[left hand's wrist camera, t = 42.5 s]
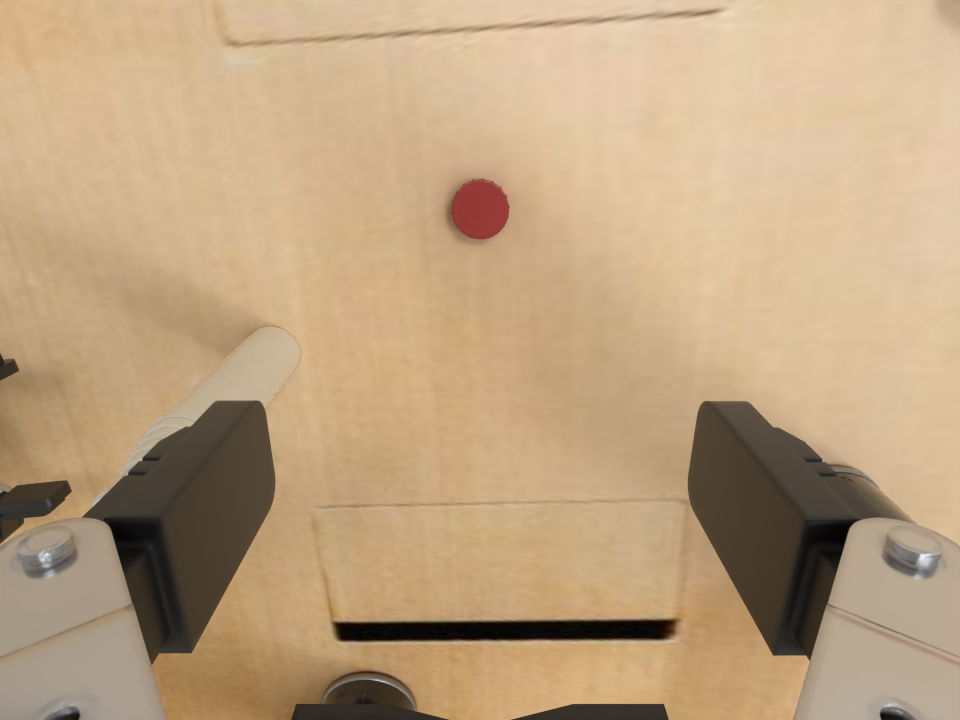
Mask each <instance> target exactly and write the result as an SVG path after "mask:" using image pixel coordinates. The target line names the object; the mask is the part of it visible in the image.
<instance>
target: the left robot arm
mask: <svg viewBox="0 0 960 720" xmlns="http://www.w3.org/2000/svg"><path fill="white" fill-rule="evenodd" d="M274 492H275V472H274V465H273V459H272V452H271V445H270V438H269V431H268V425H267V418H266V412H265V409H264V406H263V404H262V403H261V402H260V401H258V400H217V401H215V402H214V403H213V404H212V405H211V406H210V407H209V408H208V409H207V410H206V411H205V412H204V413H203V414H202V415H201V416H200V417H199V418H198V419H197V420H196V421H195V422H194V424H193V425H192V426H191V427H184V428H182V429H180V430H178V431H177V432H175V433H173V434H171V435H169V436H167V437H166V438H164V439H162V440H160V441H159V442H158V443H157V444H156V445H155V446H154V447H153V448H152V449H151V450H150V451H149V452H148V453H147V454H146V455H145V456H144V457H143V458H142V461H139V462H138V463H137V464H135V465H134V466H133V467H132V468H131V469H130V470H129V471H128V476H123V477H122V478H121V479H120V480H119V481H118V482H117V483H116V484H115V485H114V486H113V487H112V488H111V489H110V490H109V491H108V492H107V493H106V494H105V495H104V496H103V497H102V498H101V499H100V500H99V501H98V502H97V503H96V504H95V505H94V506H93V507H92V508H91V509H90V510H89V511H88V512H87V513H86V514H85V515H84V516H83V517H82V518H71V519H64V520H59V521H54V522H51V523H47V524H44V525H41V526H38V527H35V528H32V529H30V530H28V531H25V532H23V533H21V534H19V535H17V536H15V537H13V538H12V539H10V540H9V541H7V542H5V543H4V544H2V545H1V546H0V720H167V718H166V714H165V711H164V707H163V704H162V701H161V697H160V694H159V690H158V687H157V684H156V680H155V677H154V673H153V670H152V666H151V665H152V664H153V662H154V660H155V659H156V657H157V655H158V654H159V653H192V651H193V649H194V648H195V646H196V644H197V642H198V640H199V638H200V637H201V635H202V633H203V631H204V629H205V627H206V626H207V624H208V622H209V620H210V618H211V616H212V615H213V613H214V611H215V609H216V607H217V605H218V604H219V602H220V600H221V598H222V596H223V594H224V593H225V591H226V589H227V587H228V585H229V583H230V582H231V580H232V578H233V576H234V574H235V572H236V571H237V569H238V567H239V565H240V563H241V561H242V560H243V558H244V556H245V554H246V552H247V550H248V549H249V547H250V545H251V543H252V541H253V539H254V538H255V536H256V534H257V532H258V530H259V528H260V527H261V525H262V523H263V521H264V519H265V517H266V516H267V514H268V512H269V510H270V508H271V505H272V502H273V498H274ZM688 492H689V498H690V503H691V506H692V509H693V511H694V513H695V515H696V516H697V518H698V520H699V522H700V524H701V525H702V527H703V529H704V531H705V533H706V534H707V536H708V538H709V540H710V542H711V544H712V545H713V547H714V549H715V551H716V553H717V554H718V556H719V558H720V560H721V562H722V563H723V565H724V567H725V569H726V571H727V572H728V574H729V576H730V578H731V580H732V582H733V583H734V585H735V587H736V589H737V591H738V592H739V594H740V596H741V598H742V600H743V601H744V603H745V605H746V607H747V609H748V611H749V612H750V614H751V616H752V618H753V620H754V621H755V623H756V625H757V627H758V629H759V630H760V632H761V634H762V636H763V638H764V639H765V641H766V643H767V645H768V647H769V649H770V650H771V652H772V654H773V655H806V656H807V657H808V659H809V661H810V663H809V666H808V670H807V673H806V677H805V680H804V684H803V687H802V690H801V694H800V697H799V701H798V704H797V707H796V711H795V714H794V718H793V720H960V546H959V545H958V544H956V543H955V542H953V541H951V540H950V539H948V538H947V537H945V536H943V535H941V534H939V533H937V532H935V531H932V530H930V529H928V528H925V527H922V526H919V525H918V524H917V523H916V522H915V521H913V520H912V519H911V518H910V517H909V516H908V515H907V514H906V513H905V512H904V511H902V510H901V509H900V508H899V507H898V506H897V505H896V504H895V503H894V502H893V501H892V500H891V499H890V498H888V497H887V496H886V495H885V494H884V493H883V492H882V491H881V490H880V489H879V488H878V486H877V485H876V484H875V483H874V482H873V481H872V480H871V479H870V478H868V477H867V476H866V475H865V474H863V473H862V472H860V471H858V470H856V469H853V468H850V467H845V466H829V465H828V464H827V463H826V462H822V458H820V457H819V456H818V455H817V454H816V453H815V452H814V451H813V450H812V449H811V448H810V447H809V446H808V445H807V444H806V443H805V442H804V441H802V440H800V439H798V438H796V437H795V436H793V435H791V434H789V433H787V432H785V431H784V430H782V429H780V428H773V427H772V426H771V425H770V424H769V423H768V421H767V420H766V419H765V418H764V417H763V416H762V415H761V414H760V413H759V412H758V411H757V410H756V409H755V408H754V407H753V406H752V405H751V404H750V403H749V402H747V401H705V402H703V403H702V404H701V406H700V408H699V411H698V415H697V421H696V427H695V434H694V441H693V447H692V454H691V461H690V467H689V474H688ZM291 720H448V719H444V718H440V717H436V716H432V715H428V714H424V713H420V712H416V711H412V710H408V709H404V708H400V707H396V706H392V705H388V704H296V707H295V710H294V713H293V716H292V719H291ZM512 720H669V719H668V716H667V713H666V710H665V707H664V704H572V705H568V706H564V707H560V708H556V709H552V710H548V711H544V712H540V713H536V714H532V715H528V716H524V717H520V718H516V719H512Z"/></svg>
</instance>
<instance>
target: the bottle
mask: <svg viewBox="0 0 960 720" xmlns="http://www.w3.org/2000/svg"><path fill="white" fill-rule="evenodd" d="M299 361H300V348H299V345H298V343H297V341H296V340H295V338H294V337H293V336H292V335H291V334H290V333H288V332H287V331H285V330H283V329H281V328H278V327H273V326H267V327H262V328H259V329H257V330H255V331H254V332H253V333H252V334H251V335H250V336H248V337H247V338H246V339H245V340H244V341H243V342H242V343H241V344H240V345H239V346H238V347H236V348H235V349H234V350H233V351H232V352H231V353H230V354H229V355H228V356H227V357H226V358H224V359H223V360H222V361H221V362H220V363H219V364H218V365H217V366H216V367H215V368H214V369H212V370H211V371H210V372H209V373H208V374H207V375H206V376H205V377H204V378H203V379H202V380H200V381H199V382H198V383H197V384H196V385H195V386H194V387H193V388H192V389H191V390H190V391H188V392H187V393H186V394H185V395H184V396H183V397H182V398H181V399H180V400H179V401H178V402H176V403H175V404H174V405H173V406H172V407H171V408H170V409H169V410H168V411H167V412H166V413H164V414H163V415H162V416H161V417H160V418H159V419H158V420H157V421H156V422H155V423H154V424H152V426H151V427H150V428H149V430H148V431H147V432H146V433H145V434H144V435H143V437H142V438H141V440H140V442H139V444H138V445H137V446H136V447H135V449H134V451H133V453H132V455H131V456H130V457H129V458H128V460H127V462H126V465H125V466H124V467H123V468H122V469H121V471H120V473H119V477H118V479H117V480H116V481H115V482H114V483H113V484H112V485H111V486H109V487H108V488H106V489H105V490H103V491H102V492H101V493H100V494H99V495H98V496H97V497H96V498H95V500H94V501H93V502H92V505H91V508H92V507H93V506H94V505H95V504H96V503H97V502H98V501H99V500H100V499H101V498H102V497H103V496H104V495H105V494H106V493H107V492H108V491H109V490H110V489H111V488H112V487H113V486H114V485H115V484H116V483H117V482H118V481H119V480H120V479H121V478H122V477H123V476H128V471H129V470H130V469H131V468H132V467H133V466H134V465H135V464H137V463H138V462H139V461H142V458H143V457H144V456H145V455H146V454H147V453H148V452H149V451H150V450H151V449H152V448H153V447H154V446H155V445H156V444H157V443H158V442H159V441H160V440H162V439H164V438H166V437H167V436H169V435H171V434H173V433H175V432H177V431H178V430H180V429H182V428H184V427H191V426H192V425H193V424H194V422H195V421H196V420H197V419H198V418H199V417H200V416H201V415H202V414H203V413H204V412H205V411H206V410H207V409H208V408H209V407H210V406H211V405H212V404H213V403H214V402H215V401H217V400H258V401H260V402H261V403H262V404H263V406H264V409H266V407H267V406H268V405H269V403H270V402H271V401H272V399H273V398H274V397H275V395H276V394H277V393H278V391H279V390H280V389H281V387H282V386H283V385H284V383H285V382H286V381H287V379H288V378H289V377H290V375H291V374H292V373H293V371H294V370H295V369H296V367H297V366H298V364H299Z"/></svg>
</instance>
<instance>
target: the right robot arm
mask: <svg viewBox="0 0 960 720" xmlns="http://www.w3.org/2000/svg"><path fill="white" fill-rule="evenodd" d="M18 371H19V368H18V366H17V364H16V362H15V359H7V360H3V358H2V356H1V354H0V380H2V379H4V378H6V377H8V376H10V375H12V374H14V373H16V372H18ZM71 491H72V490H71V488H70V486H69V483H68V481H55V482H46V483H36V484H27V485H17V486H16V487H15V488H12V487H9V486H7V485H5V484H2V483H0V544H1V543H2V542H3V541H4V540H5V539H6V538H8V537H9V536H10V535H11V534H12V533H13V532H15V531H16V530H17V529H18V528H19V527H20V526H22V525H23V523H24V519H23V518H29V517H39V516H45V515H47V514H49V513H51V512H52V511H53V510H54V509H55V508H56V507H57V506H59V505H60V504H61V503H62V502H63V501H64V500H65V497H66V496H67V495H69V494H70V493H71ZM322 704H388V705H392V706H396V707H400V708H404V709H408V710H412V711H417V706H416V701H415V698H414V696H413V695H412V693H411V692H410V690H409V689H408V688H407V687H406V686H404V685H403V684H402V683H401V682H399V681H397V680H395V679H393V678H391V677H389V676H386V675H382V674H377V673H356V674H351V675H348V676H345V677H342V678H340V679H338V680H337V681H335V682H334V683H333V684H332V685H331V686H330V687H329V688H328V689H327V690H326V692H325V694H324V697H323V700H322Z"/></svg>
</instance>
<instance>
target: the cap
mask: <svg viewBox="0 0 960 720" xmlns="http://www.w3.org/2000/svg"><path fill="white" fill-rule="evenodd" d="M506 198H507V196H506V195H505V194H504V192H503V191H502V190H501V187H499V186H498V185H496V184H495V183H493V181H492V182H491V181H488V180H483V179H478V180H474V179H473V180H472V181H470V182H468V183H466V184H463V186H462V187H461V188H460V190H459V191H457V193H456V196H455V199H454V200H453V202H452V203H453V207H452V214H453V218H454V221H455V224H456V225H457V227H458V228H459V229H460V231H462V232H463V233H464V234H465V235H467V236H469V237H471V238H475V239H486V238H490V237H492V236H494V235H496V234H497V233H498V232H500V231H501V229H502V228H503V227H504V225H505V224H506V221H507V219H508V214H509V205H508V202H507V199H506Z"/></svg>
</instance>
